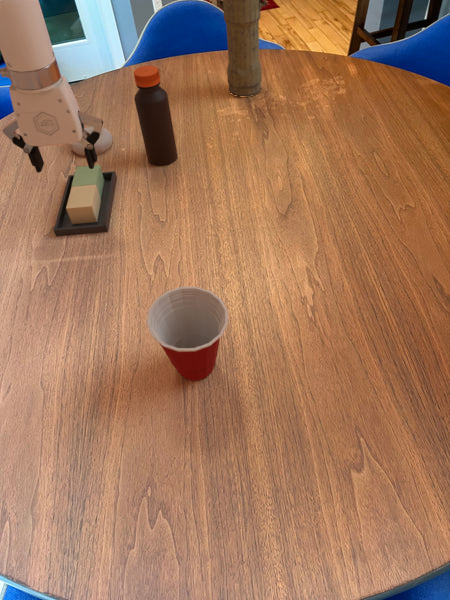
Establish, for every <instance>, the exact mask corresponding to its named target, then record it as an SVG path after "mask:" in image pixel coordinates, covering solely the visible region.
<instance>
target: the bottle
mask: <svg viewBox="0 0 450 600" xmlns="http://www.w3.org/2000/svg"><path fill="white" fill-rule="evenodd" d="M133 77H134V82H135V85H136V87H137V88H138V90H137V92H136V93H135V95H134V104H135V108H136V113H137V117H138V121H139V126H140V131H141V136H142V140H143V144H144V150H145V153H146V158H147V161H148V163H149V164H150V165H151V166H154V167H166V166H167V167H168V166H169V165H172V164H173V163H175V162H176V161H177V160H178V150H177V144H176V138H175V137H176V136H175V132H174V125H173V120H172V119H173V118H172V115H171V113H172V112H171V108H170V102H169V96H168V92H167V91H166V90H165V89H164V88H162V87H161V86H160V85H161V76H160V71H159V67H157V66H155V65H143V66H139V67H137V68H136V69H135V70H134V71H133Z"/></svg>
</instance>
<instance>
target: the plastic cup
mask: <svg viewBox="0 0 450 600" xmlns="http://www.w3.org/2000/svg"><path fill="white" fill-rule="evenodd" d="M228 324H229V311H228V308H227V306H226V304H225V302H224V301H223V299H222V298H221V297H219V296H218V295H216V293H214V292H212V291H211V290H209V289H205V288H202V287H199V286H179V287H176V288H172V289H170V290H167V291H165V292H164V293H162V294H161V295H160V296H158V297H157V298H156V299H154V301H153V302H152V303H151V306H150V307H149V309H148V310H147V317H146V326H147V328H148V331H149V333H150V335H151V337H152V338H153V339H154V340H155V341H156V342H157V343H158V344H159V346H160V347H161V348H162V349H163V351H164V353H165V355H166V357H167V358H168V359H169V361H170V362H171V364H172V365H173V367H174V368H175V370H176V371H177V373H178V374H179V375H180V376H181V377H182V378H184V379H185V380H188V381H191V382H195V381H201V380H203V379H206V378H208V376H210V375H211V374H212V373H213V371H214V368H215V366H216V362H217V356H218V354H219V353H218V352H219V346H220V340H221V338H222V336H223V335H224V332H225V331H226V328H227V327H228Z"/></svg>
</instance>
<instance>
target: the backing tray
mask: <svg viewBox="0 0 450 600" xmlns="http://www.w3.org/2000/svg"><path fill="white" fill-rule="evenodd" d="M102 174H103V177H104V186H103V191H102V196H101V205H100V210H99V215H98V220H97V222H92V223H81V224H72V222H71V219H70V217H69V215H68V212H67V210H66V206H67V203H68V199H69V195H70V191H71V185H72V182H73V178H74V174H69V175H68V177H67V180H66V184H65V187H64V191H63V194H62V198H61V201H60V206H59V209H58V213H57V216H56V220H55V224H54V227H53V233H54V234H55V237H66V236H77V235H91V234H100V233H109V228H110V222H111V216H112V209H113V203H114V198H115V191H116V186H117V178H118V176H117V172H116V171H115V170H112V171H102Z"/></svg>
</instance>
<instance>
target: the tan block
mask: <svg viewBox="0 0 450 600" xmlns="http://www.w3.org/2000/svg"><path fill="white" fill-rule="evenodd" d="M100 205H101V198H100V195H99V192H98V189H97V186H96V185H84V186H73V187H71V191H70V195H69V199H68V203H67V206H66V210H67V212H68V215H69V217H70V219H71V222H72V224H81V223H92V222H97V220H98V215H99V210H100Z"/></svg>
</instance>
